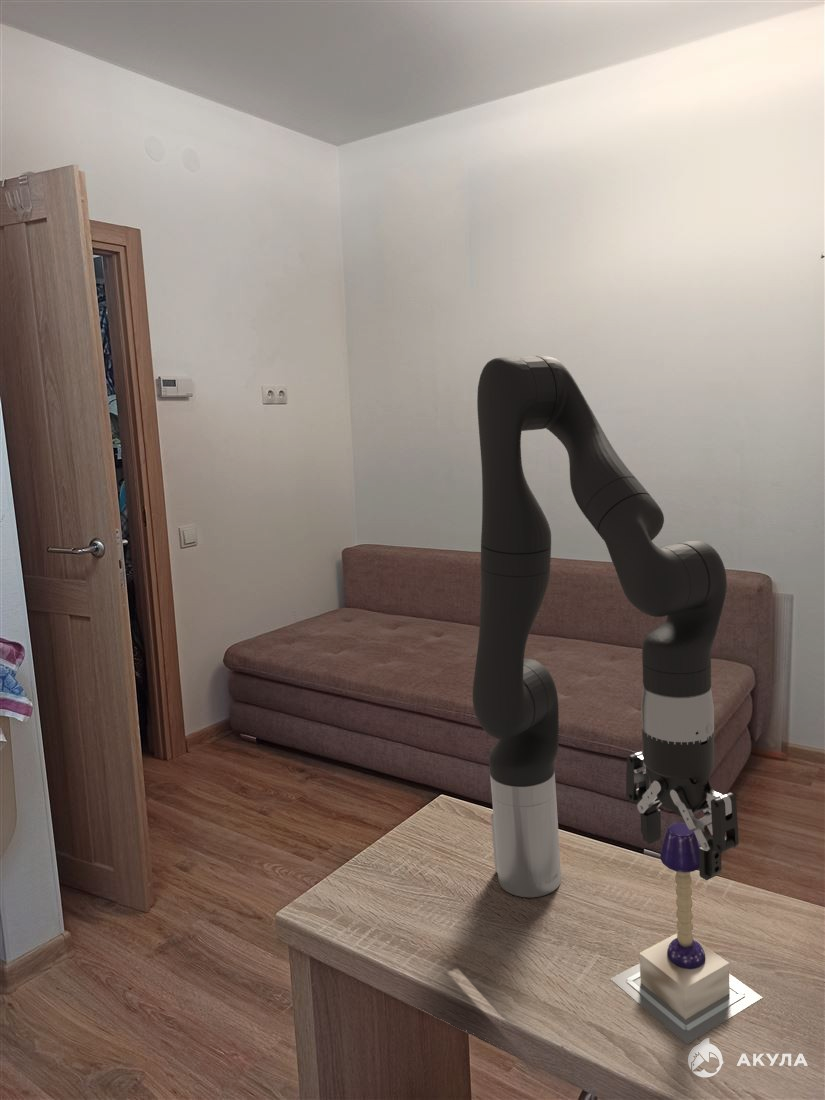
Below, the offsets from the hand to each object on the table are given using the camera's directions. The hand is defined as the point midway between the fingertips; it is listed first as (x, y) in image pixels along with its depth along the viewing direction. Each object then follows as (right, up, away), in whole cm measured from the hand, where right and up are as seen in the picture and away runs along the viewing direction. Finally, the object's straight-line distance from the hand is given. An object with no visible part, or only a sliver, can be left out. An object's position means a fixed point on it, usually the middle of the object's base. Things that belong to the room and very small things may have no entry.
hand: (679, 858), depth 93 cm
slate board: (+2, -17, +4) cm, 18 cm away
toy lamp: (+1, -13, +3) cm, 13 cm away
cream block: (+2, -16, +3) cm, 17 cm away
